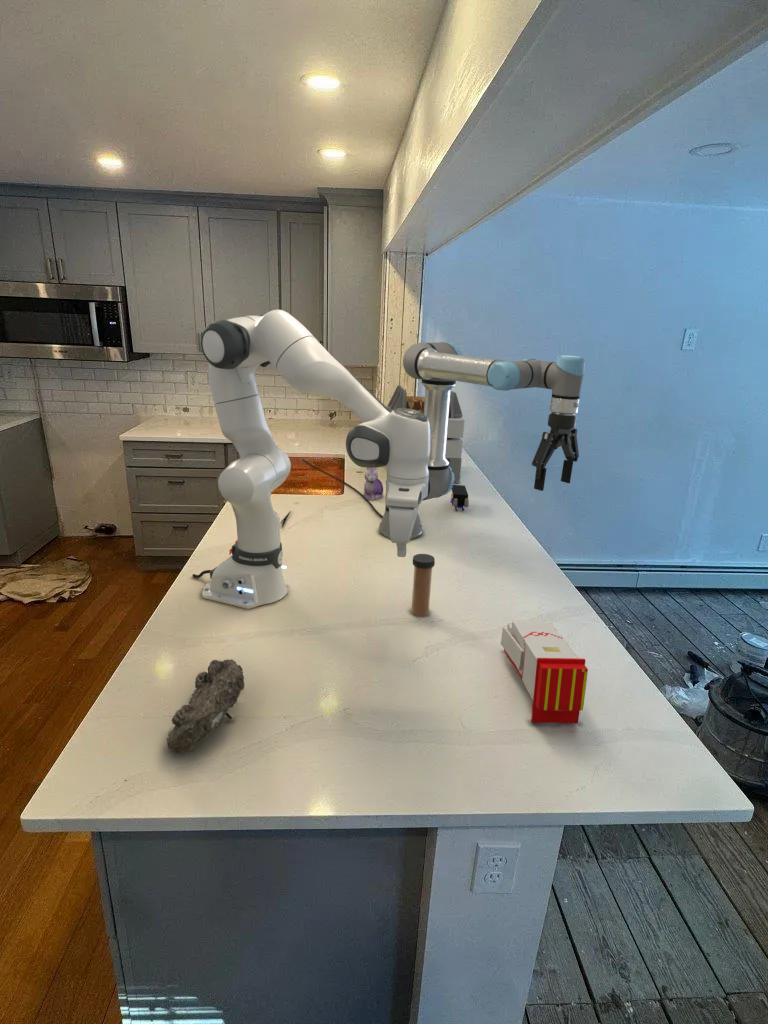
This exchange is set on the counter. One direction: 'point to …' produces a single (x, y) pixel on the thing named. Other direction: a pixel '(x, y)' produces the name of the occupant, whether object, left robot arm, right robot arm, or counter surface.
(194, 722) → the fossil
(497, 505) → the counter surface
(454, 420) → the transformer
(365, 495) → the figurine
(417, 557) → the lid
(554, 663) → the toy
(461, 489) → the figurine character
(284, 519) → the feather
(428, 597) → the jar
